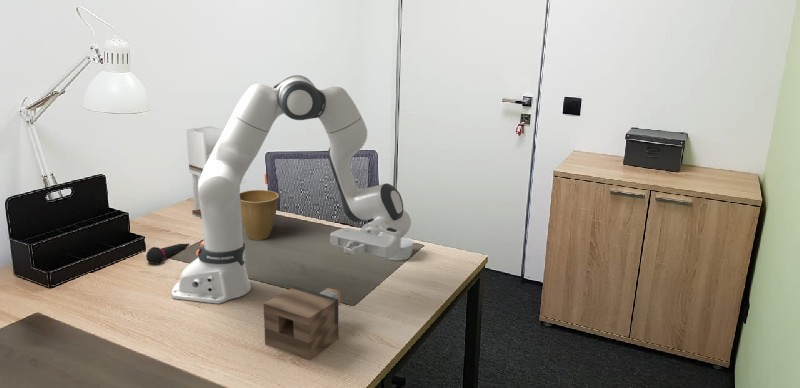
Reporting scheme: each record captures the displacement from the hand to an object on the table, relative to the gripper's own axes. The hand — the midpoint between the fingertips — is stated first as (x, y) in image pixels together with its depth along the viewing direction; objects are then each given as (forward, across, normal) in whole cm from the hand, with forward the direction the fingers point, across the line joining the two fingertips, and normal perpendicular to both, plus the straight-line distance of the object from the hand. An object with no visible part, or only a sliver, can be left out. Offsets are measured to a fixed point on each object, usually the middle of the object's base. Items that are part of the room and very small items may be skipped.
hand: (348, 251), depth 169 cm
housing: (+20, 0, +18) cm, 27 cm away
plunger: (+13, 0, +13) cm, 19 cm away
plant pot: (-30, -61, +18) cm, 70 cm away
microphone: (0, -73, +18) cm, 75 cm away
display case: (-38, -93, +17) cm, 102 cm away
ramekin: (-43, -9, +18) cm, 47 cm away
